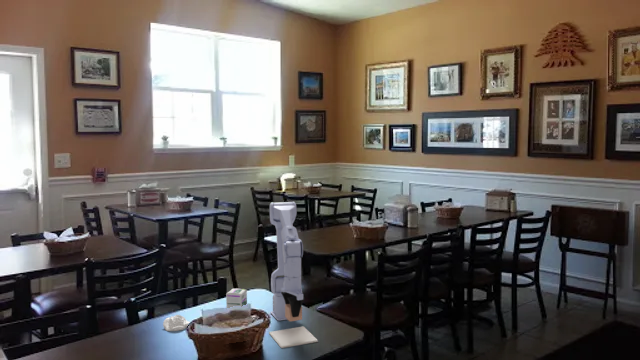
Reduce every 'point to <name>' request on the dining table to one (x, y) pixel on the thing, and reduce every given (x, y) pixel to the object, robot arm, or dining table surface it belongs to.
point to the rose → (175, 323)
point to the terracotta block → (289, 314)
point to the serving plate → (293, 337)
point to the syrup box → (236, 297)
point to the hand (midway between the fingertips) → (292, 314)
